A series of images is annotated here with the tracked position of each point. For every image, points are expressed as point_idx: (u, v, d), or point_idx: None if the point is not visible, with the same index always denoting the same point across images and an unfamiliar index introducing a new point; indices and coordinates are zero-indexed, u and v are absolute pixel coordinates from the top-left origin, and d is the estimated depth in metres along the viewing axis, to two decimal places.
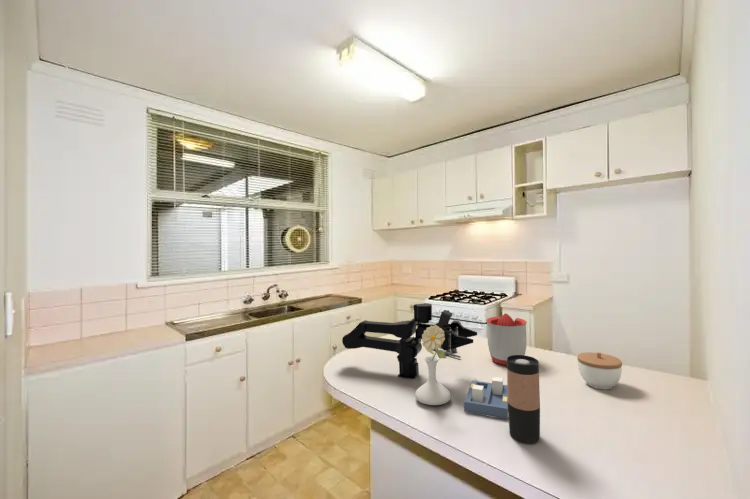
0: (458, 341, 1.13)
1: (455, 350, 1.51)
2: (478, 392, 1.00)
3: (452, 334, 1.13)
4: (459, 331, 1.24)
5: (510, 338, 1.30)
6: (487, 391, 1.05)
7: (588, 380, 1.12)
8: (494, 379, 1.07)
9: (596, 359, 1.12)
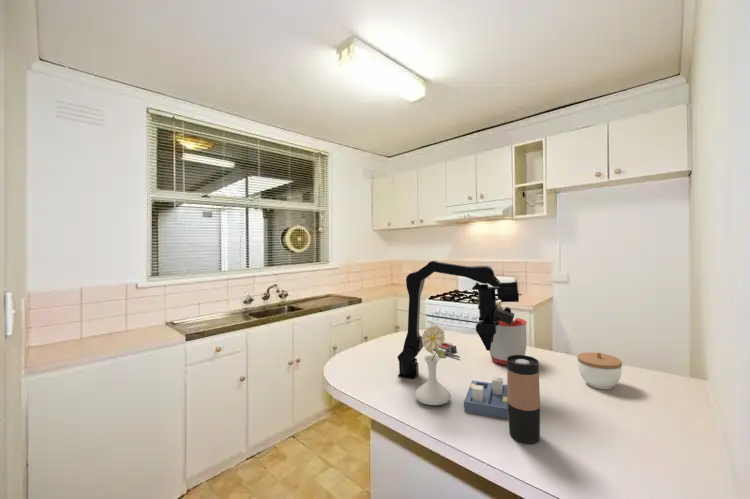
0: (486, 337, 1.11)
1: (455, 350, 1.51)
2: (478, 392, 1.00)
3: (493, 334, 1.09)
4: None
5: (510, 338, 1.30)
6: (487, 391, 1.05)
7: (588, 380, 1.12)
8: (494, 379, 1.07)
9: (596, 359, 1.12)
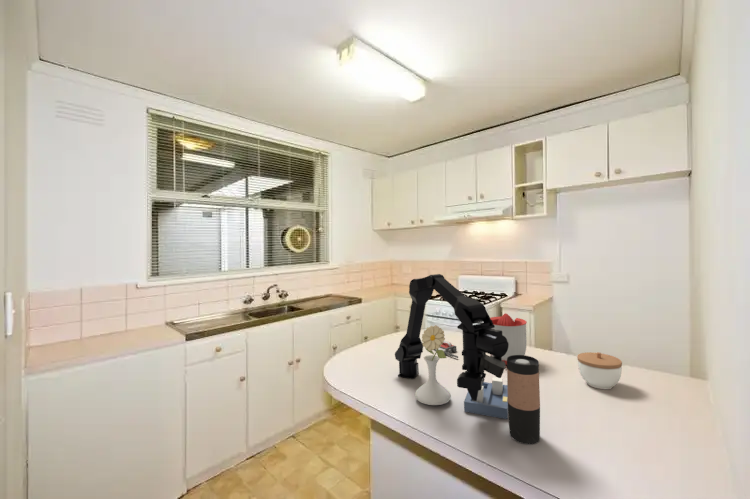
0: None
1: (455, 350, 1.51)
2: (478, 392, 1.00)
3: None
4: None
5: (510, 338, 1.30)
6: (487, 391, 1.05)
7: (588, 380, 1.12)
8: (494, 379, 1.07)
9: (596, 359, 1.12)
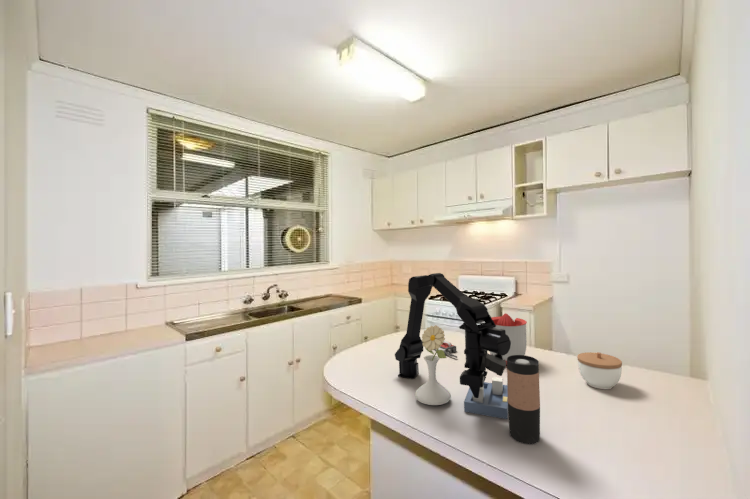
0: None
1: (454, 350, 1.51)
2: None
3: None
4: None
5: (510, 338, 1.30)
6: (487, 391, 1.05)
7: (588, 380, 1.12)
8: (494, 379, 1.07)
9: (596, 359, 1.12)
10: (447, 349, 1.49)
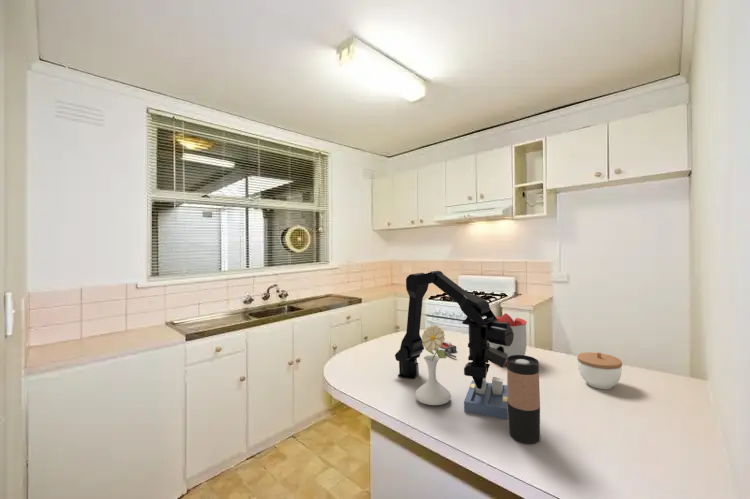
0: None
1: (454, 350, 1.51)
2: None
3: None
4: None
5: None
6: (487, 391, 1.05)
7: (588, 380, 1.12)
8: (494, 379, 1.07)
9: (596, 359, 1.12)
10: (447, 349, 1.49)
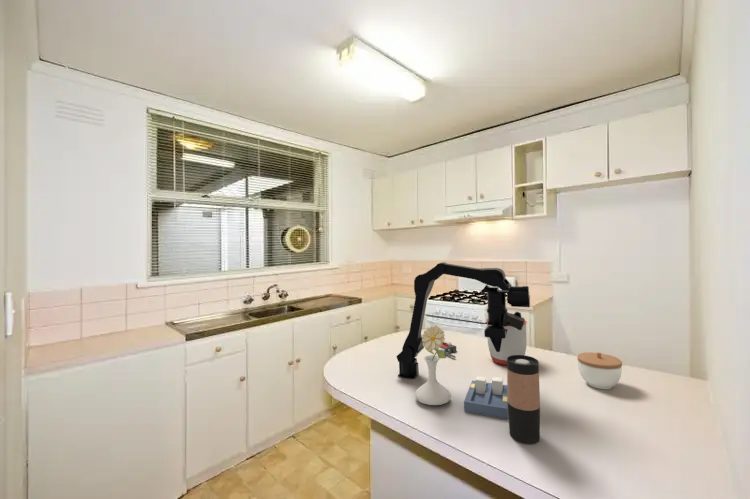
0: (496, 338, 1.11)
1: (454, 350, 1.51)
2: (481, 383, 1.06)
3: None
4: None
5: (510, 338, 1.30)
6: (487, 391, 1.05)
7: (588, 380, 1.12)
8: (494, 379, 1.07)
9: (596, 359, 1.12)
10: (446, 349, 1.50)
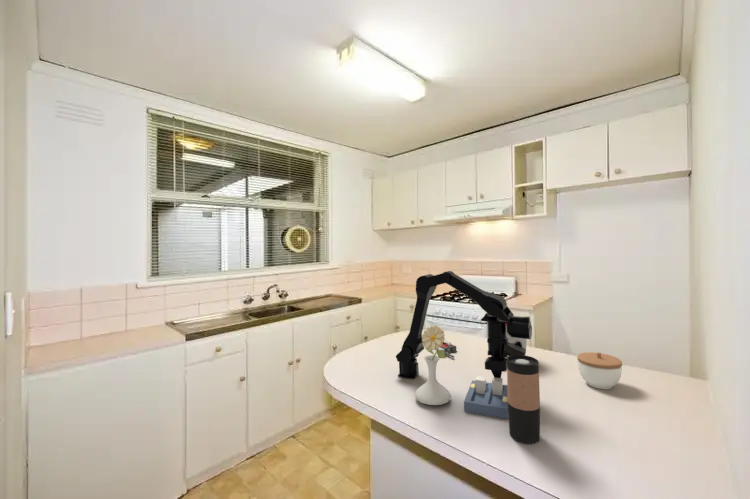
0: None
1: (454, 350, 1.51)
2: (481, 383, 1.06)
3: None
4: None
5: (510, 338, 1.30)
6: (487, 391, 1.05)
7: (588, 380, 1.12)
8: (494, 380, 1.06)
9: (596, 359, 1.12)
10: (446, 349, 1.50)
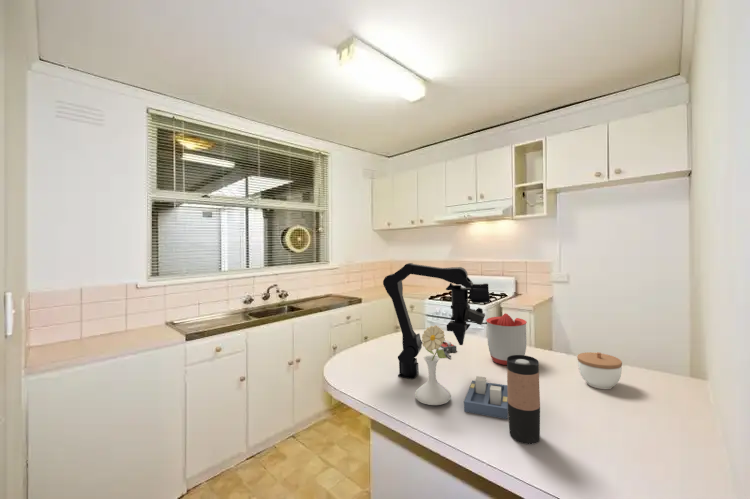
0: (459, 332, 1.20)
1: (454, 350, 1.51)
2: (481, 383, 1.06)
3: (465, 329, 1.17)
4: None
5: (510, 338, 1.30)
6: (487, 391, 1.05)
7: (588, 380, 1.12)
8: (492, 388, 1.01)
9: (596, 359, 1.12)
10: (445, 348, 1.50)
